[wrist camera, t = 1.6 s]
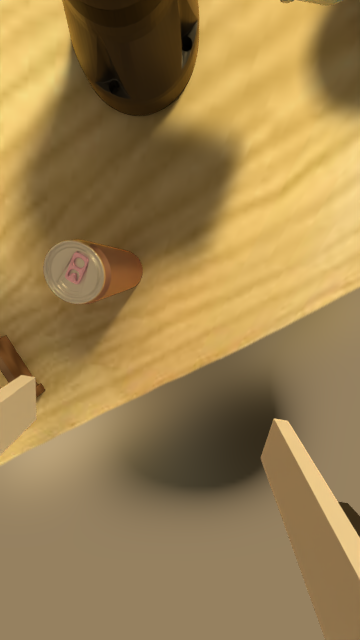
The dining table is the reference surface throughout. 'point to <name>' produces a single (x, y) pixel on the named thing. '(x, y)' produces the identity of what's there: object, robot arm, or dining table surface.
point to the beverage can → (89, 271)
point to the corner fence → (13, 364)
